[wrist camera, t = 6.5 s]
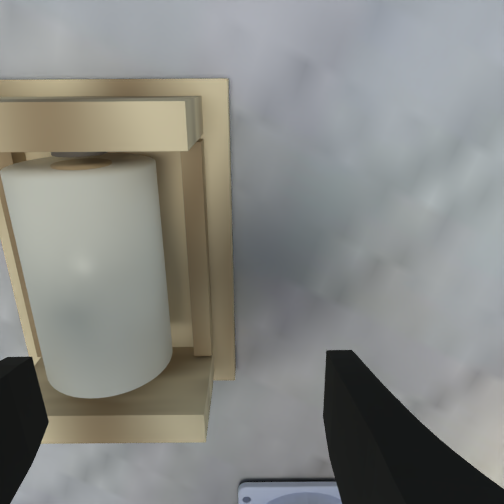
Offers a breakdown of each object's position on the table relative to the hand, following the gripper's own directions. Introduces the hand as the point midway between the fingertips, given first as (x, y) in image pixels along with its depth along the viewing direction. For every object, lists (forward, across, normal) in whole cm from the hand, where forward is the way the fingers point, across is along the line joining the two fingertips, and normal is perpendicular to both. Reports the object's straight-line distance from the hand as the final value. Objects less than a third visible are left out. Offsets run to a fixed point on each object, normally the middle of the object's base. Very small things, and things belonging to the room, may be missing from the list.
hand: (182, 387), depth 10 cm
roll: (+9, +4, 0) cm, 10 cm away
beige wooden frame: (+10, +4, 0) cm, 11 cm away
